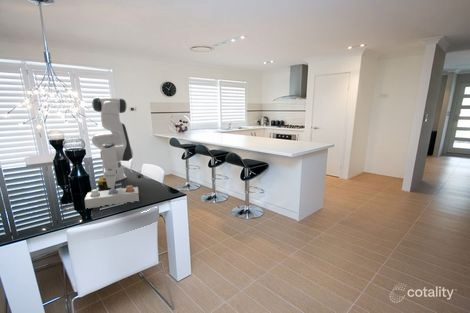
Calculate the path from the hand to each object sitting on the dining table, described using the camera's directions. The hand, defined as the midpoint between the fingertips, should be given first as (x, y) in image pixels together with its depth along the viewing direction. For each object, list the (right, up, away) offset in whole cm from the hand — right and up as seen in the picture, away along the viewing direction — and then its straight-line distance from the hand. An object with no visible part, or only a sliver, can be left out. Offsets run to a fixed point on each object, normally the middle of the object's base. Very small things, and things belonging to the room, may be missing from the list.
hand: (112, 189), depth 150 cm
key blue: (0, -5, +1) cm, 5 cm away
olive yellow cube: (-13, -4, +18) cm, 22 cm away
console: (0, -8, +2) cm, 8 cm away
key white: (-9, -5, -3) cm, 11 cm away
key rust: (+9, -3, +5) cm, 11 cm away
